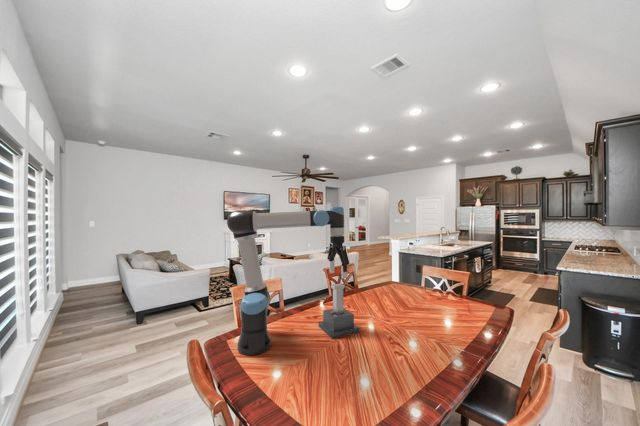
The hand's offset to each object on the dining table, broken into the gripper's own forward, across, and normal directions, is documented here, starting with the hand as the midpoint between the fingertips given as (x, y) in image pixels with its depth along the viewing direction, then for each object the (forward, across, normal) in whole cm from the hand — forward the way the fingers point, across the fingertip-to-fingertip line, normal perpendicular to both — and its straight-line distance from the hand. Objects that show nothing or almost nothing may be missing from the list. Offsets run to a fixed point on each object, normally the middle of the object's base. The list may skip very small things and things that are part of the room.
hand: (337, 275), depth 141 cm
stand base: (+29, 0, 0) cm, 29 cm away
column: (+29, 0, 0) cm, 29 cm away
